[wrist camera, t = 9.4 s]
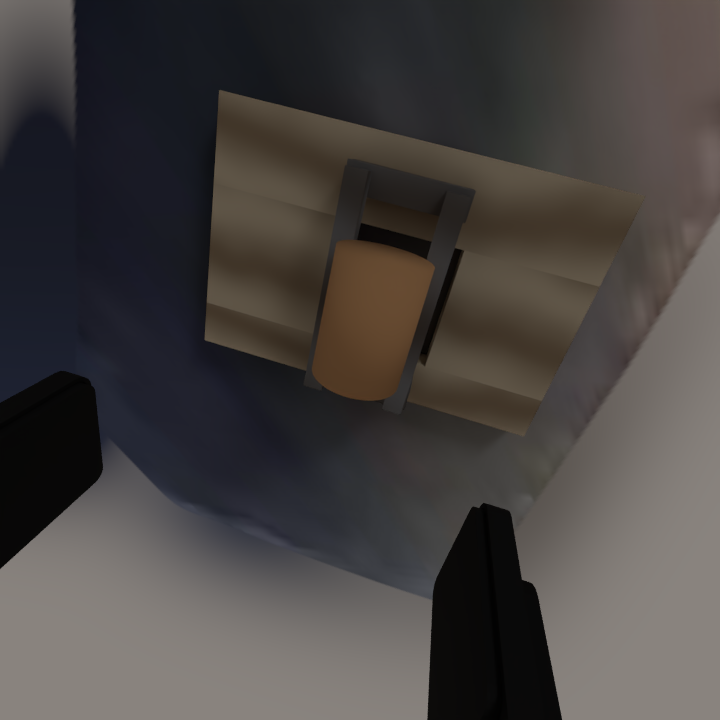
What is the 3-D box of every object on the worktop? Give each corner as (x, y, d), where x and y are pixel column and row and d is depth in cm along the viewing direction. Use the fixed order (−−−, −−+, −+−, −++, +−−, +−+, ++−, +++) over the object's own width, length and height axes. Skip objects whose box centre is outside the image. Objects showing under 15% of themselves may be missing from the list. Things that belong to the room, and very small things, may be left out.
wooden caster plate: (235, 95, 25) (182, 77, 20) (630, 194, 23) (679, 200, 18) (218, 330, 32) (175, 359, 27) (519, 421, 30) (533, 469, 25)
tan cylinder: (348, 234, 23) (324, 250, 18) (436, 258, 22) (433, 280, 18) (325, 346, 26) (299, 383, 21) (401, 368, 26) (392, 411, 21)
